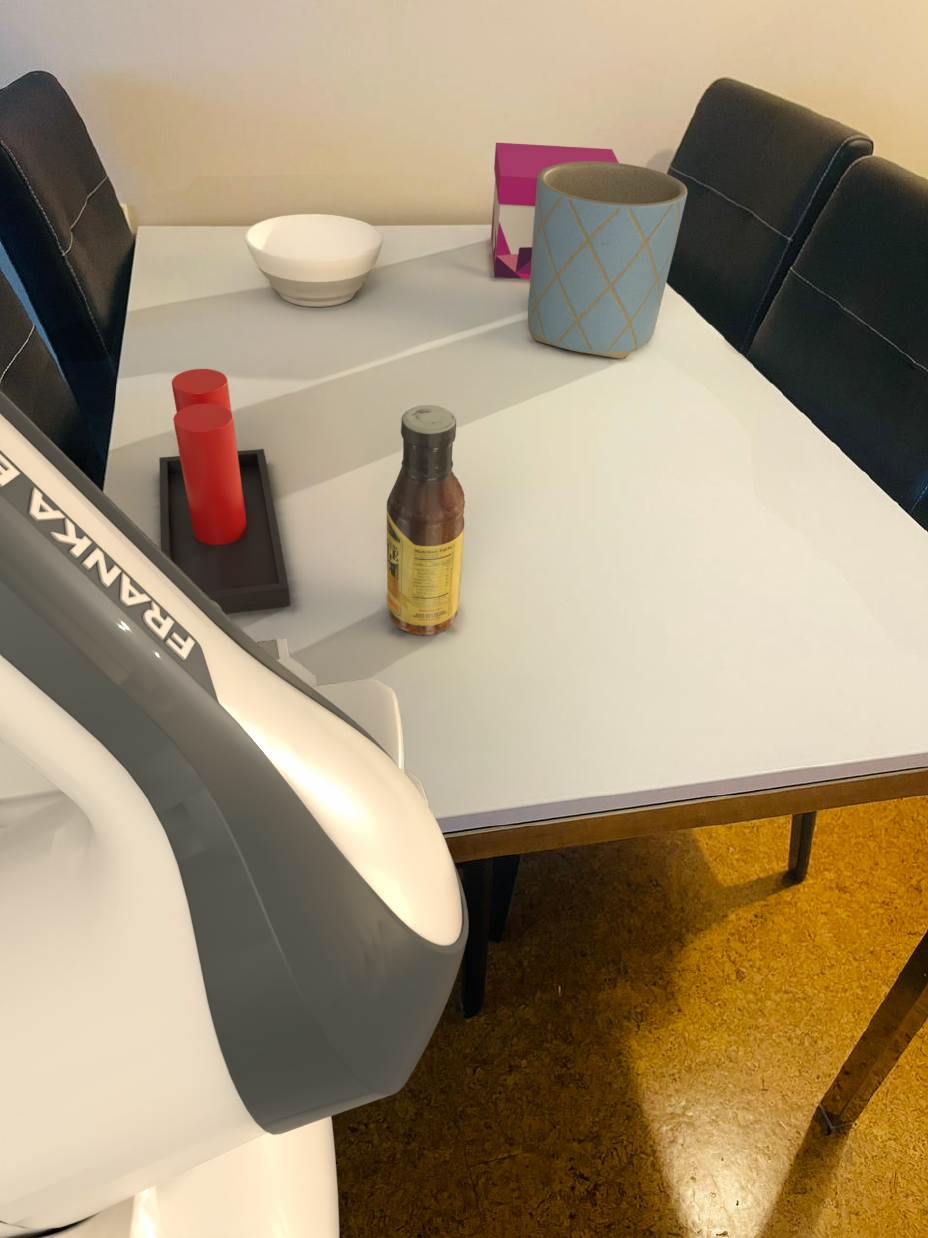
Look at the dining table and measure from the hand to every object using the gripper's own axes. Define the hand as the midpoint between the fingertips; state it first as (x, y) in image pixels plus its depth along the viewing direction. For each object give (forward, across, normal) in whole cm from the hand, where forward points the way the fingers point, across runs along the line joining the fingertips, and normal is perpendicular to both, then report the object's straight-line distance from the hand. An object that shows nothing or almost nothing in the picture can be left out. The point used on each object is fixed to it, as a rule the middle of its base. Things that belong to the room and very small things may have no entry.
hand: (178, 661), depth 45 cm
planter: (+78, -55, +20) cm, 97 cm away
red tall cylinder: (+38, -2, +19) cm, 43 cm away
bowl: (+96, -19, +20) cm, 100 cm away
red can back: (+45, -2, +19) cm, 49 cm away
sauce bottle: (+22, -18, +20) cm, 35 cm away
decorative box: (+106, -58, +20) cm, 123 cm away
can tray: (+38, -2, +19) cm, 43 cm away
